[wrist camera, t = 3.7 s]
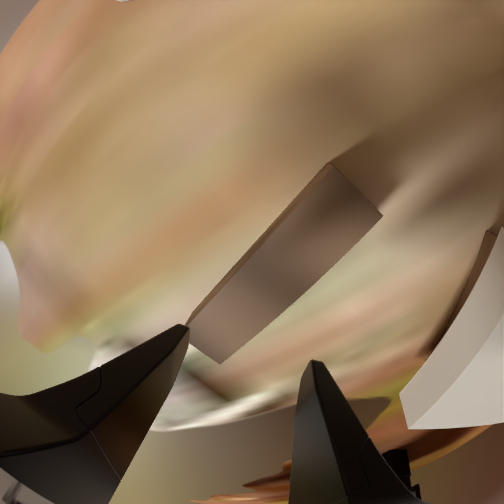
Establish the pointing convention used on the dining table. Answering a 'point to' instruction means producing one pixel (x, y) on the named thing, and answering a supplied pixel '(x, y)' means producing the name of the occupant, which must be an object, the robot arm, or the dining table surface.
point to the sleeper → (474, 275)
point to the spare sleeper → (282, 263)
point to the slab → (465, 361)
